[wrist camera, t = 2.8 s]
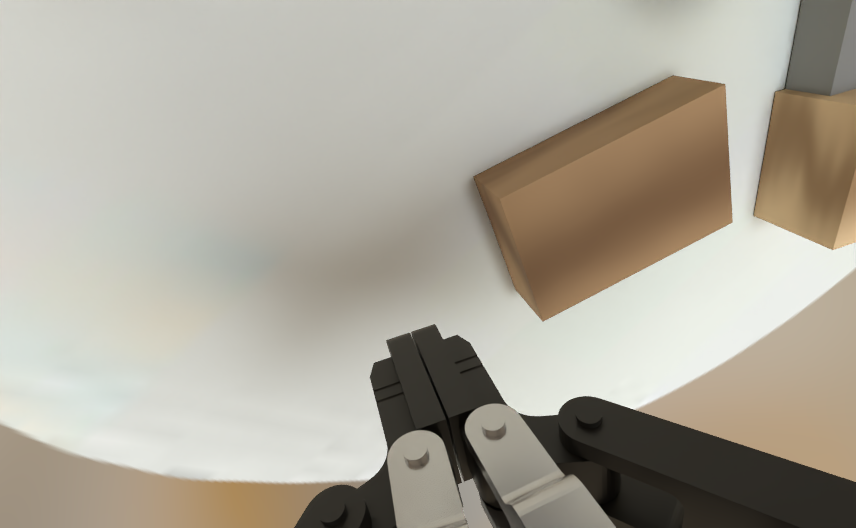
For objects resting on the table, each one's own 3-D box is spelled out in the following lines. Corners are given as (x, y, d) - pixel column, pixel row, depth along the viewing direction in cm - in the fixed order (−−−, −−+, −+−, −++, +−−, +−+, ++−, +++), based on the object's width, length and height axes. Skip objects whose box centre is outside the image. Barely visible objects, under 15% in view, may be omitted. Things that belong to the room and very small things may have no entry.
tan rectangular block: (775, 91, 21) (872, 107, 17) (832, 75, 21) (938, 88, 18) (753, 215, 24) (833, 249, 20) (804, 199, 24) (890, 230, 21)
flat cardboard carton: (470, 174, 19) (499, 199, 17) (666, 74, 20) (725, 84, 17) (512, 285, 22) (542, 321, 20) (681, 198, 23) (732, 222, 20)
